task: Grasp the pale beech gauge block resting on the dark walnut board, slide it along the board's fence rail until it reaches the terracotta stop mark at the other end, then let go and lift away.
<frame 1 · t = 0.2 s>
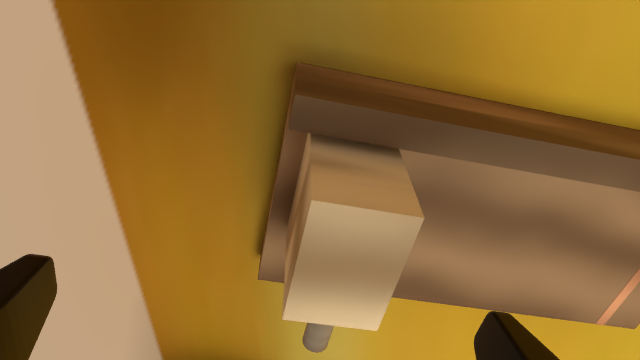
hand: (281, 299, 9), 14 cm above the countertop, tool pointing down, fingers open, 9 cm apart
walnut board: (486, 206, 25), on the countertop
gauge block: (338, 185, 22), point 2 cm above the countertop, touching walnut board
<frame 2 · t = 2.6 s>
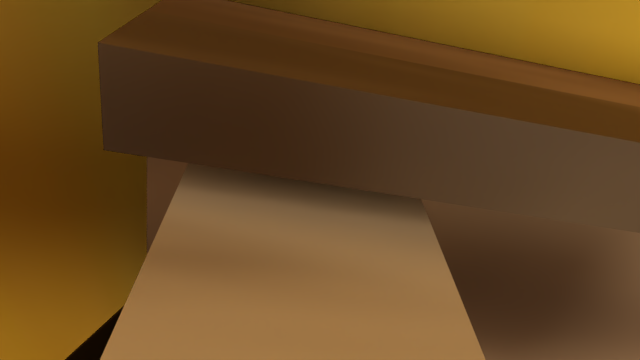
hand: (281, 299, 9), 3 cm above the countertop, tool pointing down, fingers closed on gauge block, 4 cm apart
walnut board: (576, 282, 13), on the countertop
gauge block: (283, 265, 10), point 2 cm above the countertop, touching gripper, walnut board
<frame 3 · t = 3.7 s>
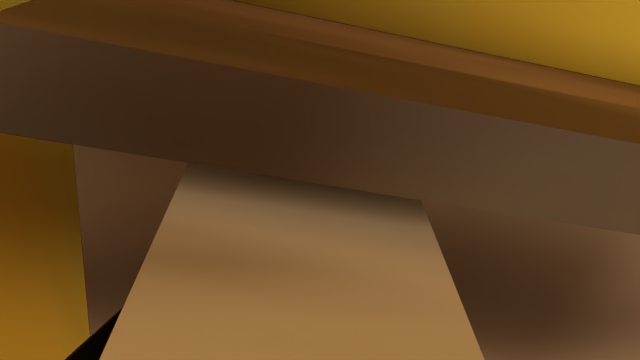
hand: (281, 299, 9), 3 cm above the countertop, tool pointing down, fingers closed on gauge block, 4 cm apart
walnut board: (535, 278, 13), on the countertop
gauge block: (283, 266, 10), point 2 cm above the countertop, touching gripper
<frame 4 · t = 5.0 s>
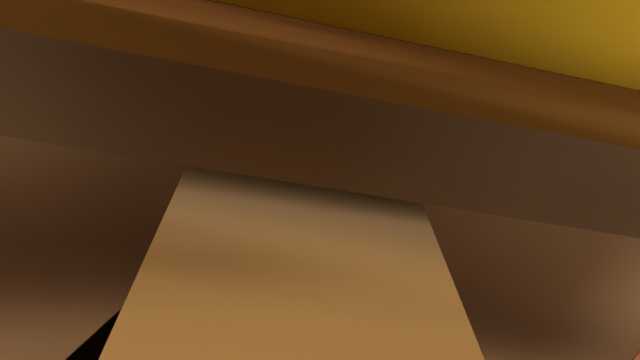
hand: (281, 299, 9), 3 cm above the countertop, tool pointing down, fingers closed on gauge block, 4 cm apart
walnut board: (309, 248, 12), on the countertop
gauge block: (282, 266, 10), point 2 cm above the countertop, touching gripper
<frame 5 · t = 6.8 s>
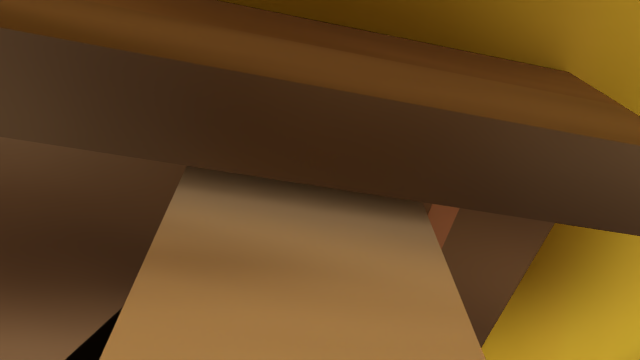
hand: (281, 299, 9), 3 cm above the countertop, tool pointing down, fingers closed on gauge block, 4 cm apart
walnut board: (31, 210, 11), on the countertop
gauge block: (283, 266, 10), point 2 cm above the countertop, touching gripper, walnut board
when the fingers open (3 cm above the countertop, at t = 7.7 s): gauge block stays where it is, resting on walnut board.
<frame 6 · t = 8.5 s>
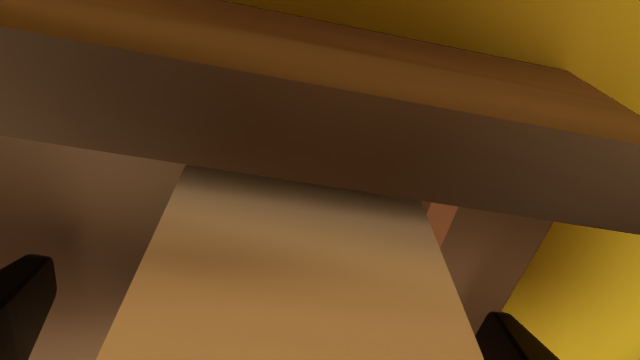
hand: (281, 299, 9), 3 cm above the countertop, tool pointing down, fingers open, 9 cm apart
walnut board: (30, 209, 11), on the countertop
gauge block: (282, 265, 10), point 2 cm above the countertop, touching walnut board
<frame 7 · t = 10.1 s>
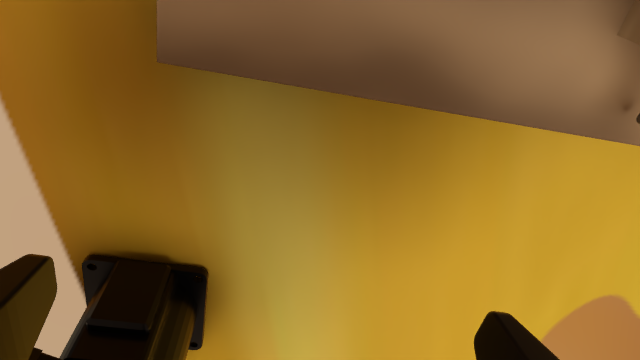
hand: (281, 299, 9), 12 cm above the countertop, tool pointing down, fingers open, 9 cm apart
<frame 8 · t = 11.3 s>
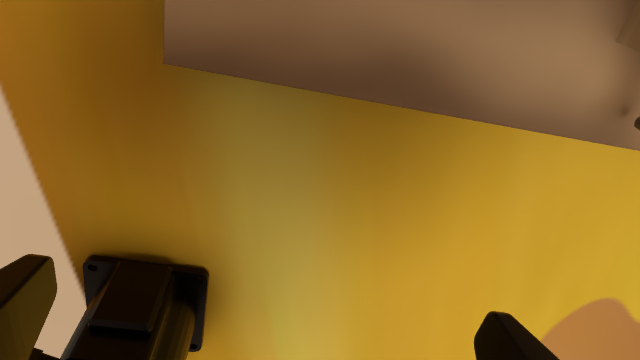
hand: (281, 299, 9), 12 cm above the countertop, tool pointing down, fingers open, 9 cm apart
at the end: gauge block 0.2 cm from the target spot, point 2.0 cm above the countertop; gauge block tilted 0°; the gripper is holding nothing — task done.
